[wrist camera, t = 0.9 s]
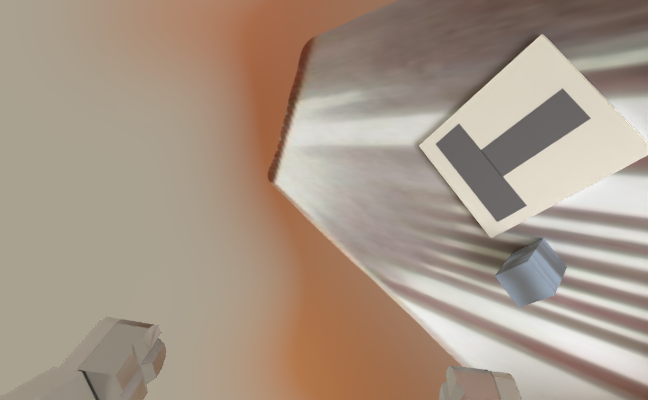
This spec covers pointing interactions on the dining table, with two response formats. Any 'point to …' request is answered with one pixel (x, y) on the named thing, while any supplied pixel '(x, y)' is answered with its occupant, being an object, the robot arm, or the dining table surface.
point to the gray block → (531, 273)
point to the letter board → (531, 140)
